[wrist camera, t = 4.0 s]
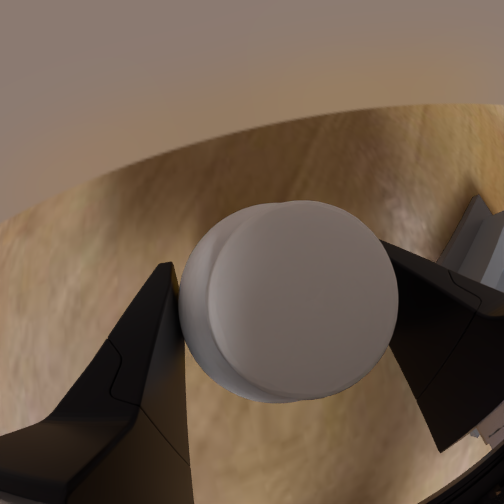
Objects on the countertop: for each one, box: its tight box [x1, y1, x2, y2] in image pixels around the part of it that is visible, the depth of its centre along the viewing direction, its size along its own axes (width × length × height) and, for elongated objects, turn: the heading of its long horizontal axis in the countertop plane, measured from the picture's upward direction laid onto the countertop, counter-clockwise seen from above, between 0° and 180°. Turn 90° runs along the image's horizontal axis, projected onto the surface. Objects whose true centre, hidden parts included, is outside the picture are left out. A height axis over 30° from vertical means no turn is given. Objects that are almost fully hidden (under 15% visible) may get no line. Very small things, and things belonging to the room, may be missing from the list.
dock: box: [436, 194, 504, 438], centre depth 16 cm, size 14×14×4 cm
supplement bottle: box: [178, 200, 398, 403], centre depth 10 cm, size 6×6×10 cm
